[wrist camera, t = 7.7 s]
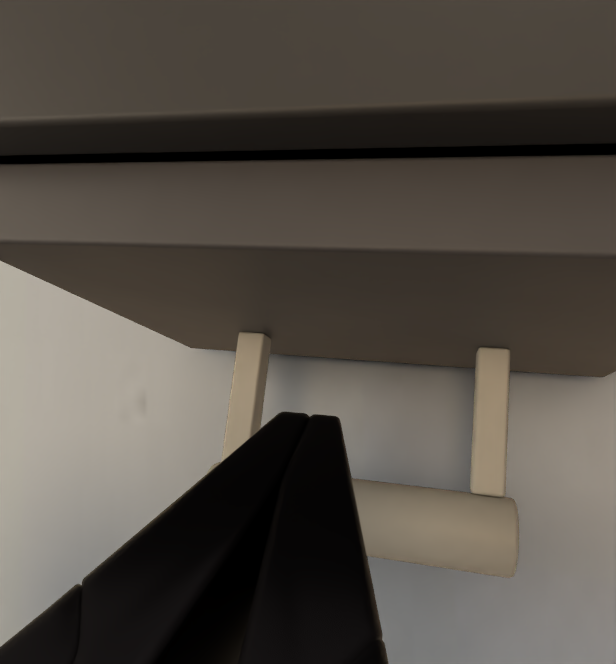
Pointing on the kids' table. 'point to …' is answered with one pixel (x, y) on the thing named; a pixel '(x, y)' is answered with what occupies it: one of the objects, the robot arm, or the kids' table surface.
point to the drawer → (350, 284)
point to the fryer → (301, 75)
